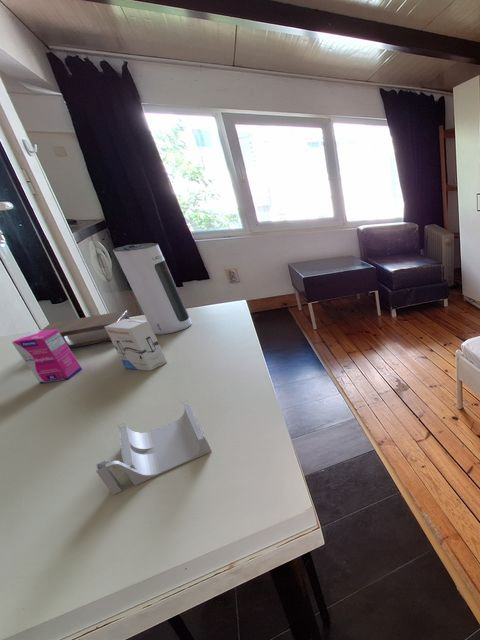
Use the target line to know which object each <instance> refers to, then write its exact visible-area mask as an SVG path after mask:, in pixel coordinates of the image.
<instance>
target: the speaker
mask: <svg viewBox="0 0 480 640" xmlns="http://www.w3.org/2000/svg"><path fill="white" fill-rule="evenodd" d="M112 252H113V254H114V255H115V257H116V260H117V262H118V263H119V266H120V268H121V270H122V272H123V274H124V276H125V278H126V280H127V282H128V284H129V287H130V288H131V290H132V293H133V294H134V296H135V299H136V300H137V303H138V305H139V306H140V309H141V310H142V313H143V314H144V317H145V319H146V321H148V322H149V324H150V326H151V328H152V330H153V332H154V334H155V335H169V334H174V333H177V332H180V331H183V330H186V329H188V328H189V327H191V326H192V325H193V322H192V320H191V317H190V316H189V313H188V310H187V308H186V306H185V304H184V302H183V299H182V297H181V294H180V292H179V290H178V287H177V286H176V283H175V281H174V278H173V276H172V274H171V271H170V269H169V267H168V264H167V261H166V259H165V257H164V255H163V253H162V251H161V248H160V246H159V244H158V243H153V242H150V243H139V244H127V245H123V246H120V247H116V248H114V249H113V250H112Z"/></svg>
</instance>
